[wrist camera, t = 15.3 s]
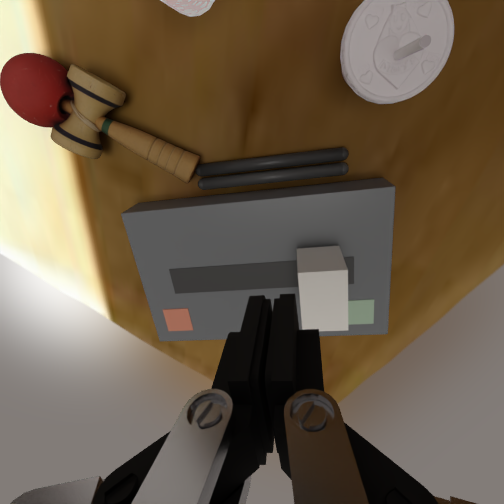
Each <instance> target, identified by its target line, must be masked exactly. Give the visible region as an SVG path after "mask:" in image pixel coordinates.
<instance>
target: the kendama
mask: <svg viewBox="0 0 504 504" xmlns="http://www.w3.org/2000/svg"><path fill="white" fill-rule="evenodd" d="M0 86H1V90H2V93H3V96H4V98H5V100H6V101H7V103H8V105H9V106H10V107H11V108H12V109H13V111H14V112H16V113H17V114H18V115H19V116H20V117H22V118H23V119H24V120H26V121H28V122H30V123H32V124H35V125H38V126H42V127H53V128H52V133H51V139H52V140H53V141H54V142H55V143H57V144H58V145H60V146H62V147H63V148H65V149H67V150H69V151H71V152H73V153H76V154H78V155H81V156H84V157H88V158H92V159H98V158H100V156H101V154H102V152H103V148H102V145H101V142H100V139H99V132H101V131H102V132H104V133H105V134H106V135H108V136H109V137H111V138H112V139H114V140H115V141H117V142H118V143H120V144H121V145H123V146H124V147H126V148H128V149H129V150H131V151H132V152H134V153H136V154H137V155H139V156H141V157H143V158H144V159H146V160H149V161H150V162H151V163H153V164H155V165H158V166H159V167H160V168H162V169H164V170H166V171H167V172H169V173H171V174H173V175H175V176H176V177H177V178H179V179H181V180H182V181H184V182H185V183H189V182H190V180H191V178H192V176H193V174H194V172H195V169H196V167H197V165H198V163H199V160H200V156H198V155H196V154H193V153H191V152H188V151H184V150H183V149H181V148H179V147H176V146H174V145H172V144H170V143H167V142H165V141H163V140H161V139H157V138H156V137H154V136H152V135H150V134H148V133H146V132H143V131H141V130H138V129H136V128H133V127H131V126H128V125H125V124H122V123H120V122H117V121H114V120H111V119H109V118H106V117H104V116H105V115H106V114H107V113H108V112H109V111H111V110H112V109H114V108H117V107H120V106H122V105H123V103H124V100H125V97H126V94H125V92H123V91H122V90H120V89H118V88H117V87H115V86H113V85H112V84H110V83H108V82H106V81H105V80H103V79H101V78H99V77H98V76H96V75H94V74H92V73H90V72H88V71H87V70H85V69H83V68H81V67H79V66H77V65H74V64H72V65H71V66H70V68H69V71H67V70H66V69H65V68H64V67H63V66H62V65H61V64H59V63H58V62H57V61H55V60H53V59H51V58H49V57H47V56H44V55H41V54H36V53H24V54H19V55H16V56H14V57H12V58H11V59H10V60H9V61H8V62H7V63H6V64H5V65H4V67H3V69H2V72H1V76H0Z"/></svg>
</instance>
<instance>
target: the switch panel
mask: <svg viewBox="0 0 504 504" xmlns="http://www.w3.org/2000/svg"><path fill="white" fill-rule="evenodd" d="M348 154H349V153H348V150H347V149H346V148H343V147H341V148H333V149H325V150H316V151H308V152H300V153H291V154H283V155H275V156H266V157H258V158H250V159H241V160H233V161H225V162H216V163H208V164H200V165H198V166H197V167H196V169H195V172H196V174H197V175H198V176H210V175H219V174H228V173H237V172H246V171H254V170H263V169H272V168H281V167H290V166H298V165H307V164H316V163H325V162H334V161H342V160H345V159H346V158H347V157H348ZM348 170H349V167H348V165H347V164H346V163H343V162H342V163H333V164H324V165H315V166H306V167H298V168H289V169H280V170H271V171H262V172H253V173H244V174H236V175H227V176H218V177H209V178H202V179H200V180H199V182H198V186H199V188H200V189H202V190H208V189H217V188H227V187H236V186H246V185H255V184H264V183H274V182H283V181H292V180H302V179H311V178H320V177H330V176H339V175H345V174H346V173H347V172H348ZM394 203H395V186H394V185H393V184H391V183H390V182H388V181H387V180H386V179H384V178H374V179H365V180H355V181H346V182H336V183H326V184H317V185H307V186H297V187H288V188H278V189H268V190H259V191H249V192H239V193H230V194H220V195H210V196H201V197H191V198H181V199H172V200H162V201H153V202H143V203H138V204H136V205H134V206H133V207H131V208H129V209H128V210H126V211H125V212H123V213H121V215H122V218H123V222H124V225H125V228H126V231H127V235H128V238H129V241H130V245H131V248H132V251H133V254H134V258H135V261H136V264H137V267H138V271H139V274H140V277H141V281H142V284H143V287H144V290H145V294H146V297H147V300H148V303H149V307H150V310H151V313H152V316H153V320H154V323H155V326H156V330H157V333H158V336H159V339H160V341H183V340H214V339H227V336H228V334H229V333H230V332H240V330H241V326H242V322H243V318H244V315H245V311H246V307H247V303H248V299H249V296H258V295H264V296H265V298H266V299H271V304H272V311H273V305H274V299H275V298H280V294H293V293H295V296H296V305H297V313H298V322H299V330H302V320H301V308H300V295H299V283H298V269H297V249H299V248H312V247H326V246H339V247H340V249H341V252H342V255H343V258H344V260H345V263H346V266H347V269H348V330H347V331H319V336H340V335H371V334H388V316H389V297H390V278H391V259H392V240H393V222H394Z"/></svg>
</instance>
